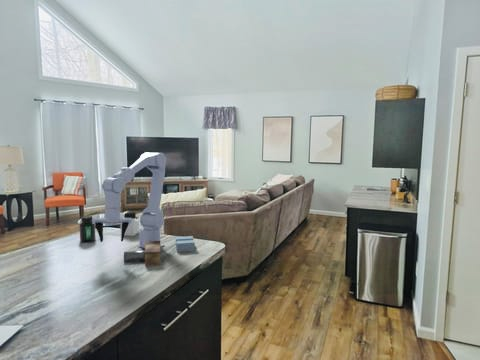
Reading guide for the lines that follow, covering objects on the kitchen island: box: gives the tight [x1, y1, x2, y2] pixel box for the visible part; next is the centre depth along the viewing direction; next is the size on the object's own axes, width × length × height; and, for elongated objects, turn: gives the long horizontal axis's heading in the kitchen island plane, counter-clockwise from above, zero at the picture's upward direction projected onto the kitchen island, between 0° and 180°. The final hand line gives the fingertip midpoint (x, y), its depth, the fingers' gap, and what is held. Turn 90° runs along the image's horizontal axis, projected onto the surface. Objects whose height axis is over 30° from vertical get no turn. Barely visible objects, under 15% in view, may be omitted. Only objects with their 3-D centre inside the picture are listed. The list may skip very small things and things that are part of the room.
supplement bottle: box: [78, 215, 96, 244], centre depth 156 cm, size 7×7×12 cm
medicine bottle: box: [119, 210, 140, 237], centre depth 168 cm, size 7×7×12 cm
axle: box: [123, 249, 145, 263], centre depth 133 cm, size 14×4×4 cm, turn 104°
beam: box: [144, 240, 162, 267], centre depth 133 cm, size 6×14×6 cm, turn 14°
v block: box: [175, 235, 196, 253], centre depth 148 cm, size 8×10×4 cm
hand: (112, 241), depth 128 cm, fingers open, 7 cm apart
